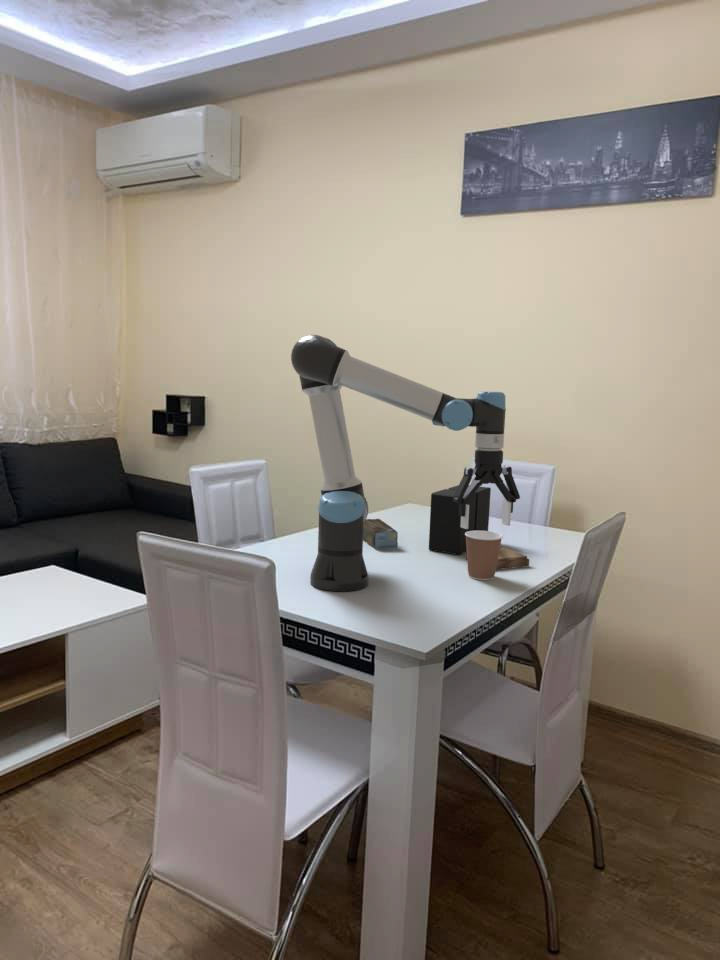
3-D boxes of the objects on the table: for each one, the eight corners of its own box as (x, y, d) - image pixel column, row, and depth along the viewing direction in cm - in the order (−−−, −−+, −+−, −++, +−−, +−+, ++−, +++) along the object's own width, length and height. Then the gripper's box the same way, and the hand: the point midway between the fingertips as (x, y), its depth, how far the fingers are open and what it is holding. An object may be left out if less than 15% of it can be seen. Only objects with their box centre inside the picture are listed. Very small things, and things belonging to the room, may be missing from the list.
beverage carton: (374, 550, 219) (374, 530, 218) (356, 536, 237) (357, 517, 236) (397, 549, 221) (398, 529, 220) (379, 536, 239) (379, 517, 238)
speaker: (458, 536, 242) (461, 484, 239) (487, 541, 237) (490, 487, 234) (427, 550, 221) (430, 493, 218) (459, 556, 215) (462, 496, 212)
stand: (489, 570, 200) (489, 560, 199) (466, 559, 210) (466, 550, 210) (528, 566, 205) (529, 556, 205) (504, 556, 216) (505, 547, 216)
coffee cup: (507, 577, 193) (510, 535, 191) (486, 584, 185) (489, 540, 184) (476, 569, 200) (478, 528, 198) (455, 576, 192) (457, 533, 191)
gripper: (456, 451, 179) (453, 532, 182) (535, 449, 189) (531, 526, 192) (442, 448, 186) (439, 526, 189) (518, 446, 196) (514, 520, 199)
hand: (485, 526), depth 191 cm, fingers open, 13 cm apart
